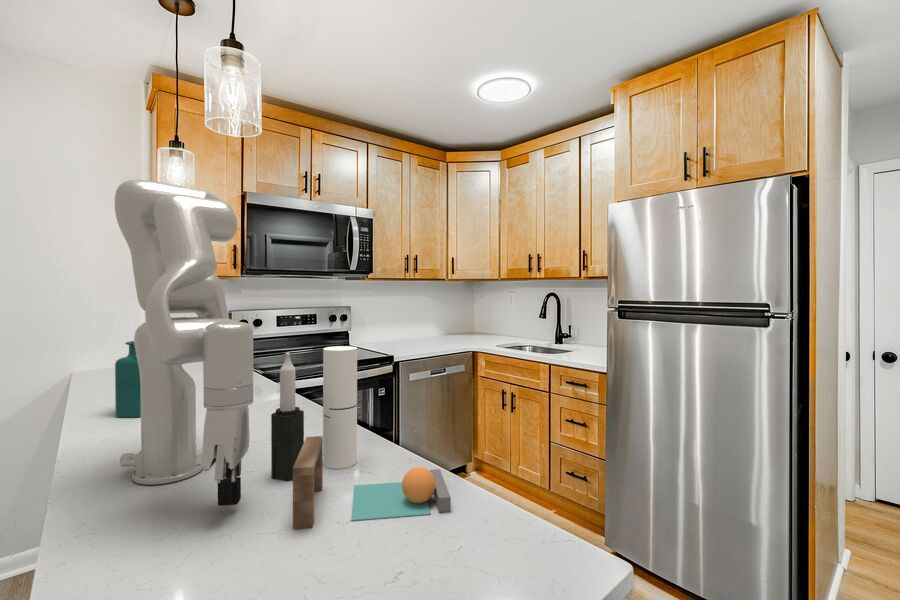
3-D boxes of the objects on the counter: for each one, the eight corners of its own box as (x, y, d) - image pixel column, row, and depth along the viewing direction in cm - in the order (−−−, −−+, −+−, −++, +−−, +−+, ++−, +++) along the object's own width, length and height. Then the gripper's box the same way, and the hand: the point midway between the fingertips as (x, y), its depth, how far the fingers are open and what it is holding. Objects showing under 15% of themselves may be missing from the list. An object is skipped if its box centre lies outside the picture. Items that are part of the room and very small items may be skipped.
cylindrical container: (348, 470, 93) (348, 351, 92) (317, 467, 95) (317, 349, 94) (361, 457, 100) (362, 346, 99) (332, 455, 101) (332, 345, 101)
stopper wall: (438, 512, 76) (438, 498, 76) (429, 482, 88) (429, 469, 88) (450, 511, 76) (450, 497, 76) (439, 481, 88) (439, 469, 88)
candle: (306, 471, 92) (306, 351, 92) (289, 481, 87) (289, 354, 87) (286, 468, 94) (285, 350, 93) (268, 478, 89) (268, 353, 88)
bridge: (292, 529, 70) (292, 468, 70) (306, 487, 85) (306, 436, 85) (312, 527, 71) (312, 467, 71) (322, 486, 86) (322, 436, 85)
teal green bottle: (140, 418, 129) (140, 342, 128) (111, 417, 129) (111, 342, 128) (163, 409, 139) (162, 338, 138) (136, 408, 139) (135, 338, 138)
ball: (427, 515, 77) (396, 500, 76) (424, 500, 83) (395, 486, 82) (443, 483, 77) (413, 468, 77) (439, 470, 83) (410, 456, 82)
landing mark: (351, 521, 73) (351, 519, 73) (354, 486, 86) (354, 485, 86) (430, 514, 75) (430, 513, 75) (421, 481, 88) (421, 480, 88)
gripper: (219, 386, 82) (220, 485, 82) (186, 408, 67) (187, 528, 68) (263, 385, 83) (263, 482, 84) (239, 406, 68) (240, 524, 69)
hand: (229, 502), depth 76 cm, fingers closed
